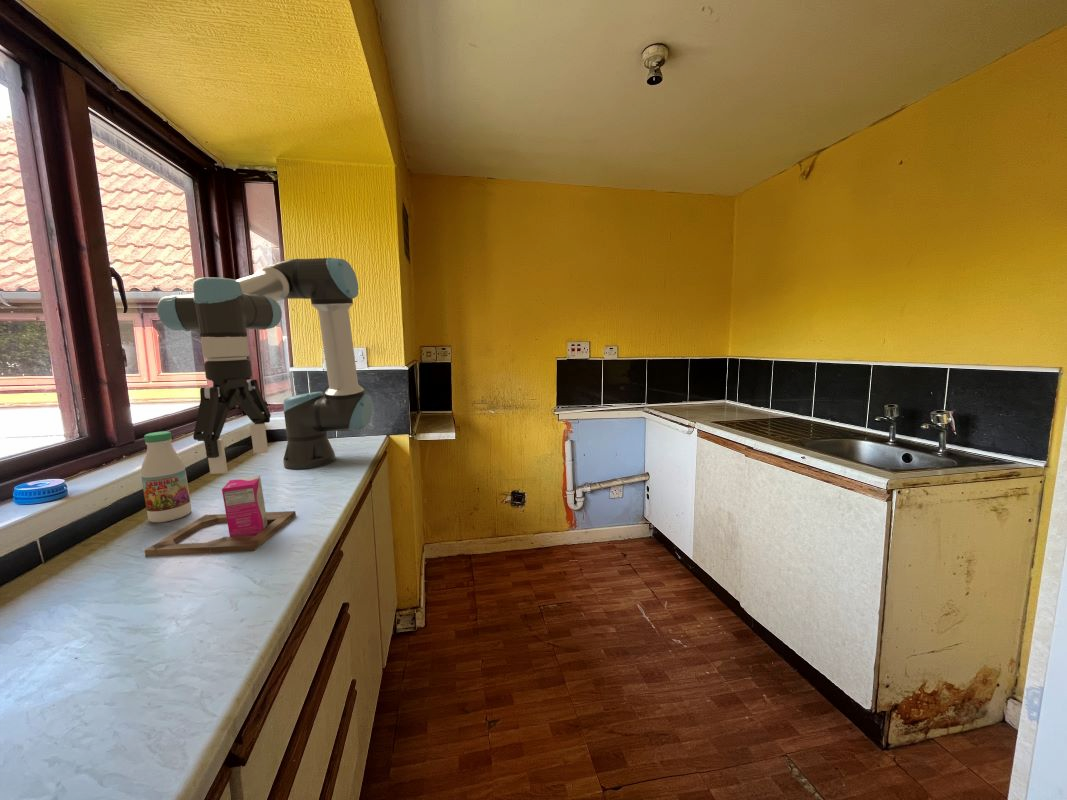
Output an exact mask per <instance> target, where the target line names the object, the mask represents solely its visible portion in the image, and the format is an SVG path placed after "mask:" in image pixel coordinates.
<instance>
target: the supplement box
mask: <svg viewBox="0 0 1067 800" xmlns="http://www.w3.org/2000/svg"><path fill="white" fill-rule="evenodd" d="M221 493H222V498H223V504H224V510H225V514H226V517H227V528H228V535H229V537H231V536H253V535H257V534H258V533H259V532H261V531H262V530H263V529H264V528H266V527H267V526H268V523H267V517H266V512H267V511H266V506H265V497H264V492H263V486H262V480H261V476H260V475H259V476H251V477H250V476H249V477H243V478H236V479H231V480H230V479H229V481H228V482H227V483H226V484H225V486H223V487H222V489H221Z"/></svg>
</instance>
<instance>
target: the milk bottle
mask: <svg viewBox="0 0 1067 800" xmlns="http://www.w3.org/2000/svg"><path fill="white" fill-rule="evenodd" d="M143 438H144V442H145V445H146V453H145V456H144V459H143V461H142V464H141V468H140V470H141V471H140V475H141V485H142V491H143V496H144V497H143V498H144V502H145V509H146V514H147V519H148V521H149V522H150V523H165V522H169V521H170V522H171V521H174V520H178V519H181V518H183V517H186V516H187V515H190V514H191V512H192V504H191V496H190V490H189V484H188V478H187V477H188V476H187V472H186V467H185V463H184V461H183V459H182V457H181V456H180V455H179V454H178V452H177V451H176V450H175V448H174V447H173V444H172V442H173V439H172V438H173V437H172V432H171V431H155V432H149V433H146V434H144V436H143Z"/></svg>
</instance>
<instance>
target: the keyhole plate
mask: <svg viewBox="0 0 1067 800" xmlns="http://www.w3.org/2000/svg"><path fill="white" fill-rule="evenodd" d="M296 516H297V514H296V510H292V511H289V510H288V511H266V517H267V523H268V526H267V527H266V528H264V529H263V530H262V531H261V532H259V533H258V534H257V535H253V536H231V537H230V536H224V537H219V538H217V539H213V540H210V541H207V542H190V543H187V542H186V543H179V542H181V541H183V540H184V539H186V538H187V537H189V536H191V535H193V534H194V533H196V532H197V531H199V530H200V529H202V528H205V527H208V526H212V525H216V524H218V523H219V524H222V523H225V524H226V523H227V517H226V513H222V514H221V513H219V514H218V513H216V514H215V513H214V514H205V515H202V516H200V517H199V518H197V519H196V520H194V521H192V522H191V523H189V524H187V525H185V526H184V527H182V528H180V529H179V530H176V531H175V532H173V533H172V534H170V535H168V536H166V537H164V538H163V539H161V540H160V541H158V542H156V543H154V544H152V545H151V546H149V547H147V548H146V549H144V555H145V557H149V556H150V557H153V556H154V557H157V556H174V555H175V556H176V555H177V556H178V555H192V554H193V555H198V554H215V553H216V554H218V553H236V552H239V553H240V552H254V551H256V550H257V549H258V548H260V546H262V545H263V544H264V543H265V542H267V541H268V540H269V539H270V538H271V537H272V536H274V535H275V534H276V533H277V532H279V531H280V530H281V529H282V528H284V526H286V525H287V524H288V523H289V522H290V521H291V520H293V519H294V518H296ZM227 524H228V523H227Z"/></svg>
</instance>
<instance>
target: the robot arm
mask: <svg viewBox="0 0 1067 800" xmlns="http://www.w3.org/2000/svg"><path fill="white" fill-rule="evenodd" d="M192 288H193V290H192V291H193V293H190V294H175V295H174V294H173V295H165V296H164V297H161V298H160V299H159V301H158V303H157V307H156V311H157V316H158V318H159V321H160V322H161V324H163V325H164V327H167V328H168V329H169V330H173V331H185V332H190V331H199V337H200V342H201V343H200V344H201V350H202V351H201V353H202V357H203V358H204V359H207V360H206V361H204V363H203V366H204V367H203V368H204V374H205V378H206V379H207V380H208V381H211V382H212V386H203V387H200V388H199V390H200V391H199V395H200V401H199V406H198V411H197V416H196V421H195V425H194V426H195V427H194V431H193V437H192V438H193V440H195V441H198V442H204V448H205V454H206V457H207V459H208V467H209V472H210V473H209V474H210V475H211V474H213V475H214V474H215V475H216V474H227V473H229V472H228V471H229V470H228V465H227V458H226V452H225V443H224V439H223V438H220V437H221V435H222V434H221V433H222V431H223V428H224V426H225V423H226V421H227V418H228V414H229V412H230V410H232V409H233V408H234V407H236V406H239V407H240V409H241V410H242V411H243V413H245V414H246V416H247V417H248V419H249V420H250V421H251V424H249V426H250V428H249V429H250V436H251V443H252V449H253V451H252V452H253V454H267V453H268V452H269V448H268V447H269V446H268V439H267V431H266V423H270V422H271V416H272V414H271V413H270V410H269V408H268V405H267V403H266V402H265V399H264V398H263V395H262V393H261V390H260V388H259V383H258V382H259V381H258V380H257V379H249V378H252V376H253V371H252V362H251V360H250V359H248V358H247V357H250V355H251V353H250V348H249V341H248V334H247V330H260V331H261V330H264V331H265V330H269V329H273V328H275V327H277V326H278V325H279V324H280V323H281V320H282V317H283V316H282V315H283V314H282V313H283V311H282V308H281V306H280V304H279V303H278V302H281V301H283V300H291V299H292V300H294V299H295V300H296V299H304V300H305V299H306V300H307V299H308V300H309V299H310V302H311V306H312V307H313V308H314V309H316V310H317V312H318V313H317V314H318V319H319V320H318V321H319V326H320V327H319V328H320V332H321V341H322V347H323V354H324V360H325V367H326V373H327V382H328V388H327V389H326V390H325V392H323V391H313V392H308V393H302V394H296V395H291V396H288V397H286V398H285V399H284V401H283V410H282V412H283V413H284V416H283V417H284V424H285V430H286V431H285V433H286V440H287V443H286V444H287V445H286V447H285V452H284V456H283V461H282V462H283V467H284V468H285V469H290V470H304V469H311V468H317V467H322V466H326V465H329V464H331V463H333V462H335V461H336V454H335V451H334V449H333V446H332V444H331V442H330V441H329V439H328V432H354V431H363V430H365V429H366V428H367V427H368V426H369V424H370V422H371V420H372V415H373V407H374V406H373V400H372V397H371V396H370V395H368V394H365V389H364V387H362V386H361V385H360V384H359V382H358V381H359V379H358V373H357V365H356V357H355V350H354V342H353V334H352V326H351V317H350V311H349V310H350V308H351V307H352V306H353V305H354V301H353V299H356V298H357V297H358V296H359V288H360V287H359V280H358V278H357V275H356V272H355V270H354V269H353V267H352V265H351V264H350V263H349V262H348V260H345V259H343V258H338V257H337V258H335V257H324V258H323V257H322V258H320V257H319V258H317V257H316V258H292V259H286V260H283V261H280V262H276V263H274V264H273V263H272V264H270V265H267V266H262V267H261V268H259V269H257V270H256V272H255V273H254V274H252V275H248V276H245V277H240V278H238V279H233V278H225V277H198V278H196V279H194V281H193V282H192Z"/></svg>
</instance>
